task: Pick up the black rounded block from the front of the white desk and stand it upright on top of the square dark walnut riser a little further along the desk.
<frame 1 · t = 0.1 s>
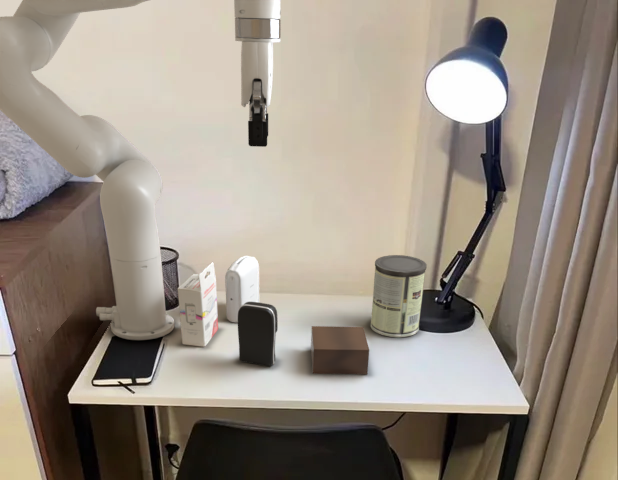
hand: (258, 141, 118), 37 cm above the table, tool pointing down, fingers open, 9 cm apart
ink cartridge box: (200, 338, 133), on the table
coffee can: (394, 328, 140), on the table
riser: (338, 361, 125), on the table
photo printer: (243, 314, 144), on the table
black rounded block: (258, 361, 125), on the table
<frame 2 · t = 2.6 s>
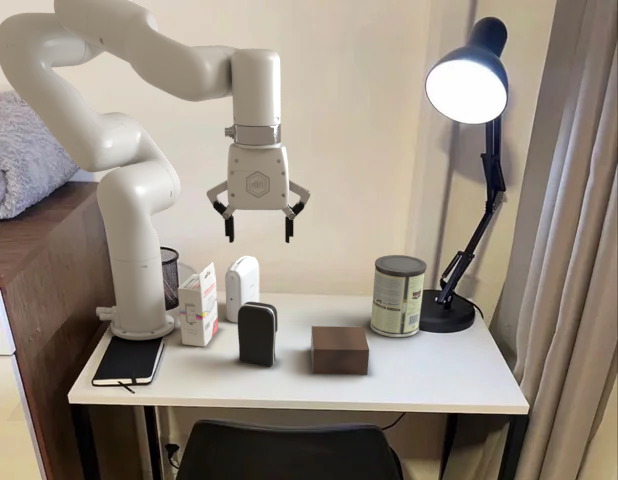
hand: (259, 240, 115), 22 cm above the table, tool pointing down, fingers open, 9 cm apart
nothing on the table moved.
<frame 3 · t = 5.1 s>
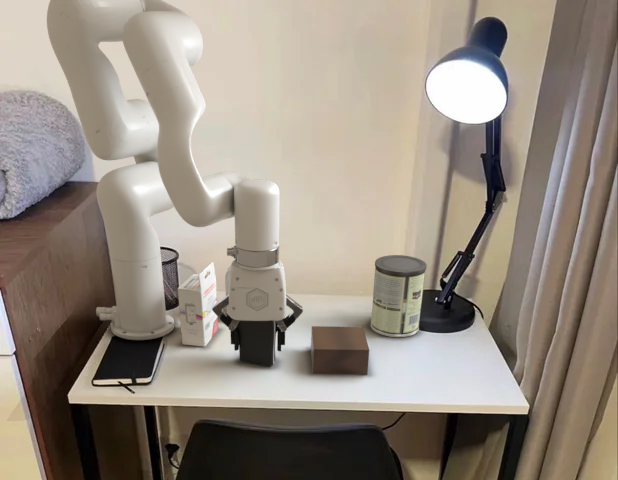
hand: (258, 347, 123), 3 cm above the table, tool pointing down, fingers closed on black rounded block, 7 cm apart
black rounded block: (258, 361, 125), on the table, touching gripper
everything else where it was.
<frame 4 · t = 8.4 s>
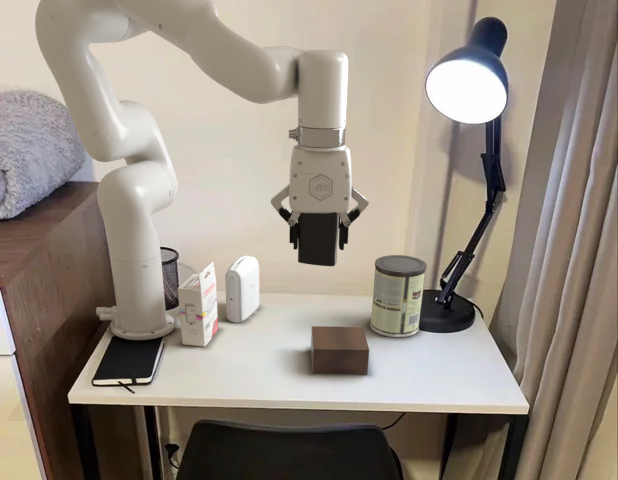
hand: (318, 246, 114), 22 cm above the table, tool pointing down, fingers closed on black rounded block, 7 cm apart
black rounded block: (318, 263, 115), point 19 cm above the table, touching gripper
everything else where it was.
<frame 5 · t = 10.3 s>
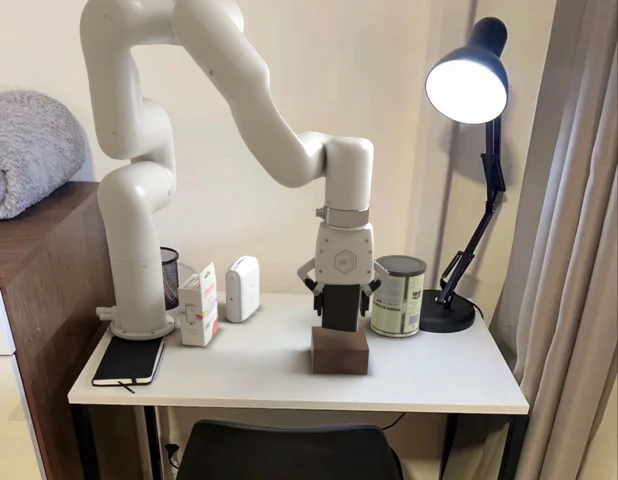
hand: (340, 313, 120), 10 cm above the table, tool pointing down, fingers closed on black rounded block, 7 cm apart
black rounded block: (340, 328, 122), point 7 cm above the table, touching gripper
everything else where it was.
when the fingers open (8 cm above the table, at t = 11.6 s): black rounded block stays where it is, resting on riser.
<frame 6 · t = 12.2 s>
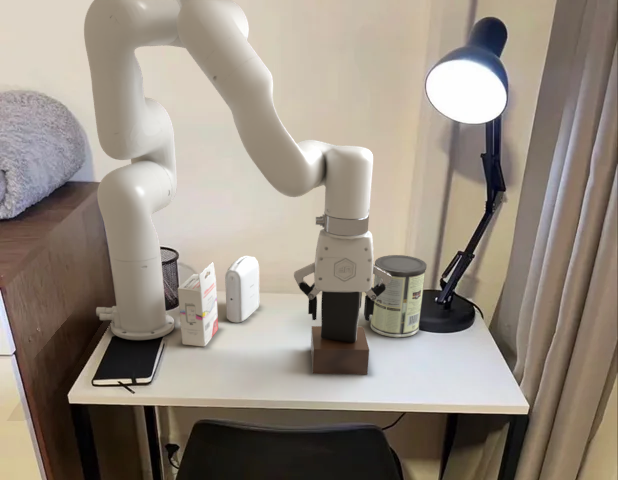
hand: (340, 317, 121), 9 cm above the table, tool pointing down, fingers open, 9 cm apart
black rounded block: (339, 338, 123), point 5 cm above the table, touching riser
everything else where it was.
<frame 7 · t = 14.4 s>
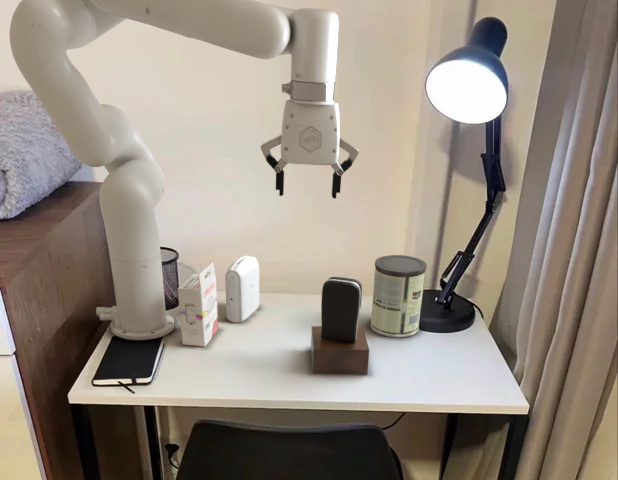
hand: (307, 195, 121), 28 cm above the table, tool pointing down, fingers open, 9 cm apart
nothing on the table moved.
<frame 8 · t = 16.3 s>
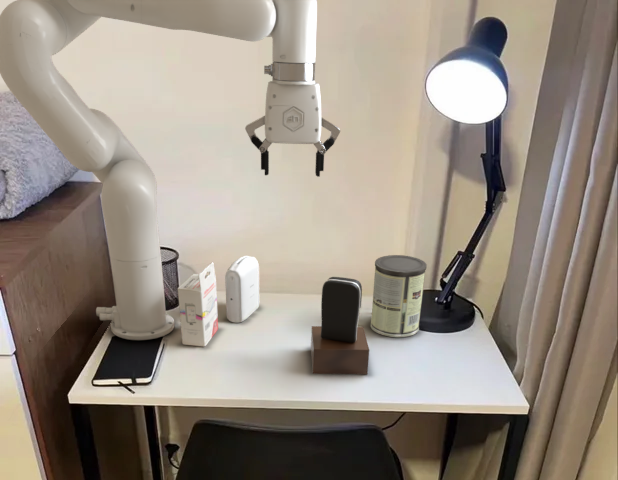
hand: (292, 174, 125), 30 cm above the table, tool pointing down, fingers open, 9 cm apart
nothing on the table moved.
at the end: black rounded block 0.0 cm off-centre on the riser, point 4.8 cm above the riser's base; black rounded block tilted 0°; the gripper is holding nothing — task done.
